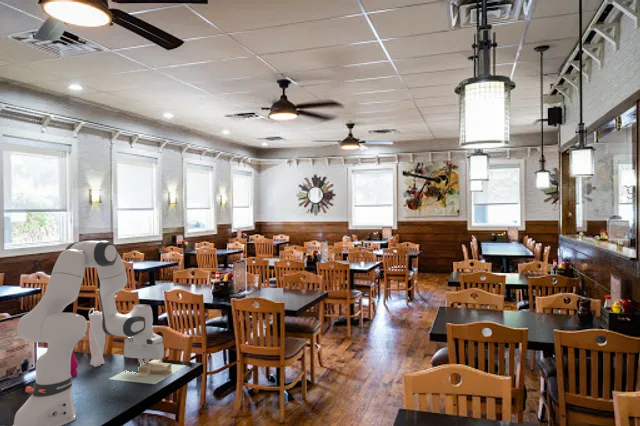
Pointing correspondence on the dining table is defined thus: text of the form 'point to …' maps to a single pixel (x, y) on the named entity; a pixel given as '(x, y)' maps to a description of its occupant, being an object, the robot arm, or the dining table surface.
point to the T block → (155, 368)
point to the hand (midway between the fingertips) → (144, 367)
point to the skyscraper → (96, 338)
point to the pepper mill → (73, 364)
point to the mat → (149, 379)
